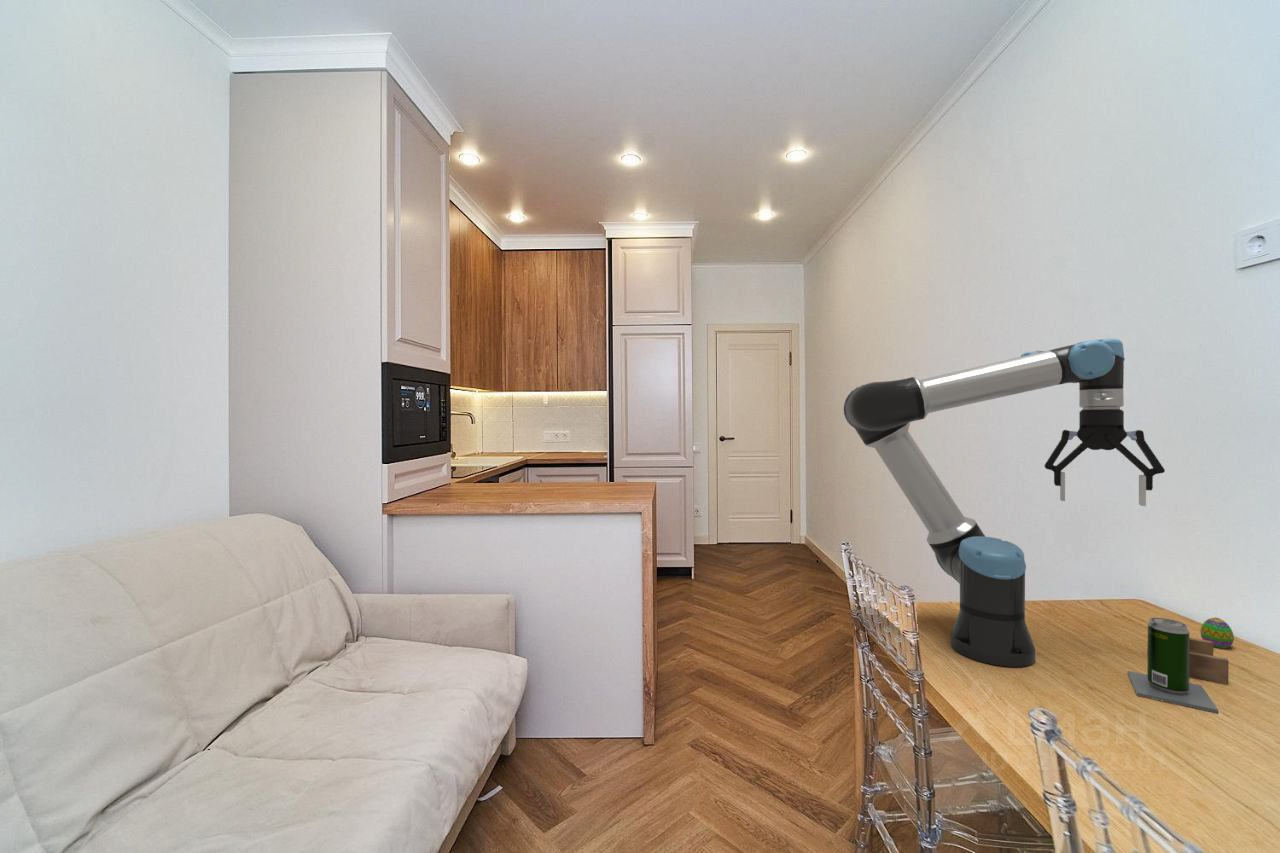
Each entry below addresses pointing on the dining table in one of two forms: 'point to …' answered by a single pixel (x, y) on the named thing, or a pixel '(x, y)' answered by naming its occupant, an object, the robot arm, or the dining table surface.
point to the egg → (1217, 633)
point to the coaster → (1192, 698)
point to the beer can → (1168, 655)
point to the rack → (1206, 662)
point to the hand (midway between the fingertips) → (1101, 502)
